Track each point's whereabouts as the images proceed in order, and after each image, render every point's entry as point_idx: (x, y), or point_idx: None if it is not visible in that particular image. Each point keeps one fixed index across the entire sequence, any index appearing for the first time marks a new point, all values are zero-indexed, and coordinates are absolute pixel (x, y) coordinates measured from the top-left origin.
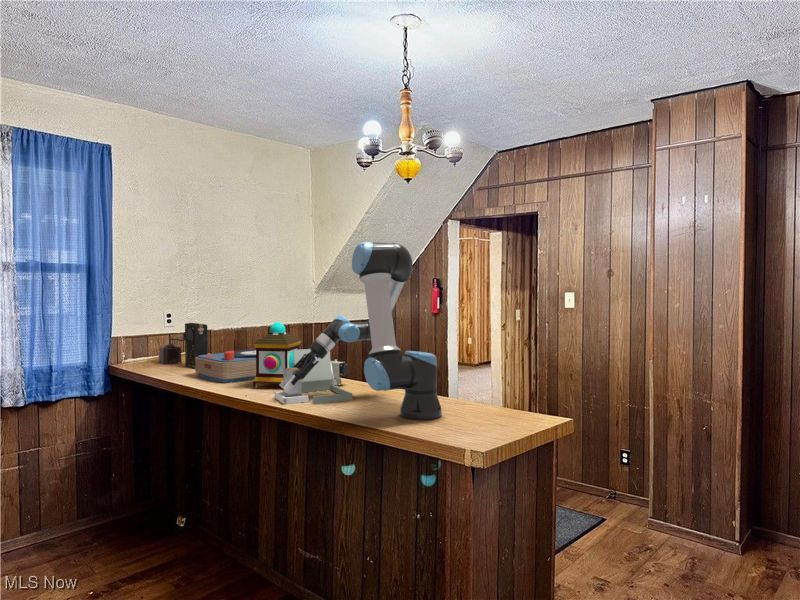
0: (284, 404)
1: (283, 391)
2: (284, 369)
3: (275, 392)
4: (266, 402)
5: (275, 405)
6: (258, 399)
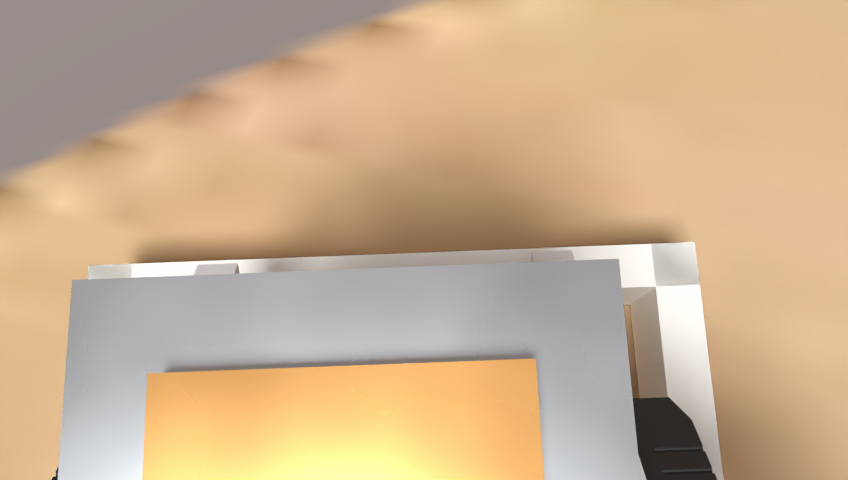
0: None
1: (697, 401)
2: (464, 266)
3: (651, 244)
4: (399, 92)
5: (142, 162)
6: (654, 32)
